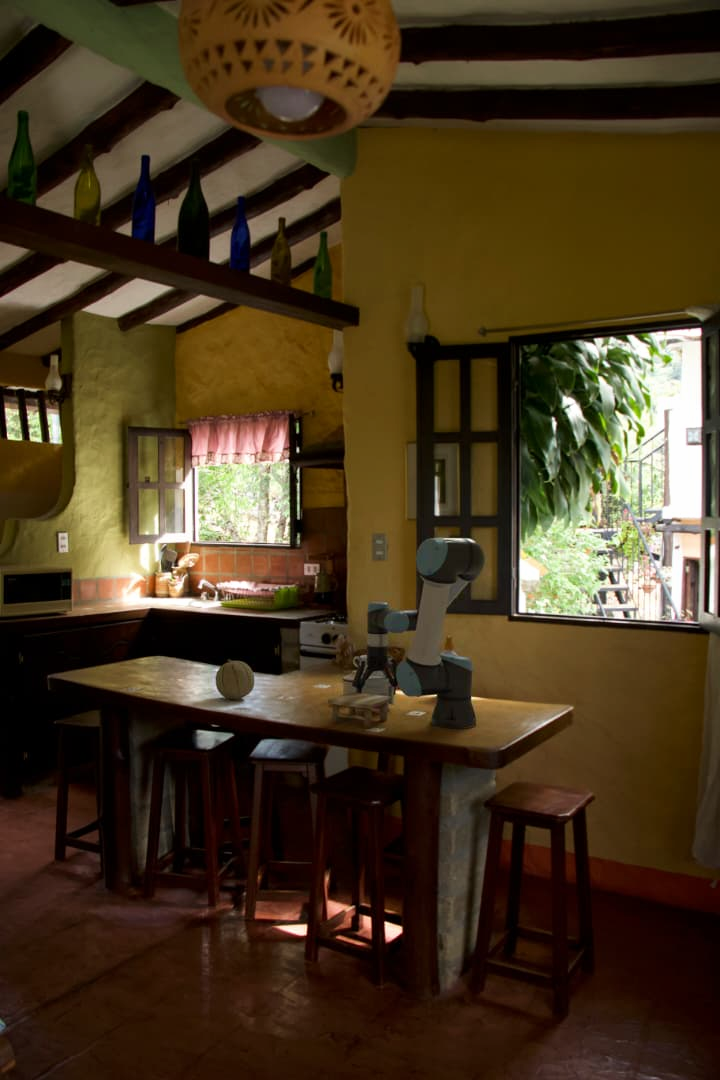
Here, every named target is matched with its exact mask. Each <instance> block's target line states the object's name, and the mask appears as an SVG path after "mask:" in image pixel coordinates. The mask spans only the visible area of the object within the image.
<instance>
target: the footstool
mask: <svg viewBox="0 0 720 1080" xmlns="http://www.w3.org/2000/svg"><path fill="white" fill-rule="evenodd" d="M391 700H392V697H388V696H380V695H372V694H363V693H355V692H349V693H346V694H343V693H342V694H341V695H338V696H335V697H332V698H329V699H327V704H330V705H332V715H331V719H332V720H331V723H332V724H333V725H339V724H340V718H348V719H355V720H360V721H361V720H362V721H363V728H364V729H371V728H372V713H374V714H375V713H376V714H379V721H380V722H388V710H387V702H389V701H391ZM379 705H380V709H372V708H374V707H376V706H379ZM340 706H346V707H348V713H344V712H340V709H341V708H340ZM357 711H361V712H363V711H364V712H363V715H359V714H357Z"/></svg>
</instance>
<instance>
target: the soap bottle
mask: <svg viewBox="0 0 720 1080" xmlns="http://www.w3.org/2000/svg"><path fill="white" fill-rule="evenodd" d="M445 637H446V638H445V639H446V640H445V642H444V650H443V651H442V652H441V653H440V654H448V655H456V656H459V655H458V654H457V653H456V652H455V651H454V643H453V635H446V636H445Z"/></svg>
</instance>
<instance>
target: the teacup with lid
mask: <svg viewBox="0 0 720 1080" xmlns="http://www.w3.org/2000/svg"><path fill="white" fill-rule="evenodd" d="M356 672H357V670H352V671H351V673H349V674H347V675H345V676H343V677H342V681H343V682H342V684H343V685H342V695H343V694H346V693H349V692H355V693H357V688H355V687H353V686H352V683H353V681H354V678H355V675H356ZM361 678H362V677H361ZM362 689H364V686H363V688H362Z"/></svg>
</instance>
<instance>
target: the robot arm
mask: <svg viewBox="0 0 720 1080" xmlns="http://www.w3.org/2000/svg"><path fill="white" fill-rule="evenodd" d="M415 563H416V569H417V571H418V572H419V573H420V578H421V580H423V586H422V593H421V597H420V603H419V607H418V608H417V609H400V610H399V609H398V610H397V609H396V610H392V609H390V607H389V604H388V602H384V601H372V602H368V605H367V612H366V615H367V618H366V619H367V620H366V622H367V623H366V624H367V625H366V627H367V628H366V630H367V633H366V634H367V635H366V644H367V646H366V655H367V660H361V659H360V660H358V666H359V667H357V670H356V671H357V672H356V675H355V678H354V681H353V683H352V686H353V687H355V688H357V693H363V694H364V689H362V688H363V686H364V685H365V680H367V679H368V678H369V677H370V675H371V674H372V673H373V671H374V672H375V671H382V672H383V673H384V674H383V675H384V677H387V678H389V697H392V700H391V701H389V705H391V706H392V705H395V701H394V699H395V697H394V696H396V695H397V693H396V691H397V690H396V689H397V687H398V688H399V689H400V691H401V692H402V693H403V694H404V695H405V696H407V697H410V698H411V697H412V698H413V697H414V698H415V697H416V698H419V697H427V696H435V695H436V701H435V705H434V707H433V709H432V714H431V721H430V722H431V724H432V725H434V726H436V727H440V728H447V729H466V728H465V727H469V728H471V727H470V726H473V725H475V724H476V725H477V717H476V713H475V709H474V706H473V703H472V691H473V690H472V685H473V683H472V681H473V679H472V678H473V663H472V660H471V659H470V658H469V657H465V656H461V655H458V656H456V655H448V654H441V653H439V649H440V645H441V640H442V635H443V630H444V629H443V628H444V623H445V618H446V612H447V609H448V607H449V606H450V605H451V603H453V601H454V600H455V599H457V597H458V595H459V594H460V593H461V592H462V591H463V589H465V587H466V586H467V585H468V584H469V583H471V582H474V581H475V580H476V579H477V578H478V577H479V576H480V574H481V573H482V571H483V569H484V566H485V563H486V556H485V552H484V549H483V548H482V546H481V545H480V544H479V542H477V541H476V540H474V539H471V538H467V537H433V538H432V537H430V538H428V539H425V540H424V541H422V543H421V544H420V545H419V546H418V549H417V551H416V555H415ZM404 632H414V639H413V644H412V649H410V650H409V651H407V653H406V656H405V660H404V661H403V660H402V661H400V662H399V663H398V664H397V666H396V659H395V658H393V657H389V658H387V657H388V653H389V650H388V649H389V647H388V644H389V633H392V634H403V633H404ZM366 664H367V665H368V667H367V668H366V671H365V673H364V674H363V671H364V668H365V666H366ZM387 665H388V666H389V669H390V671H389V669H388V667H387ZM390 672H391V673H390ZM361 677H362V678H361ZM476 725H475V726H476ZM473 727H474V726H473Z"/></svg>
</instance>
